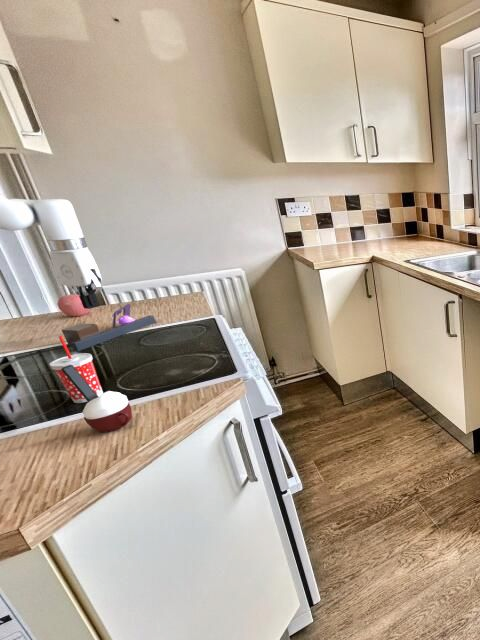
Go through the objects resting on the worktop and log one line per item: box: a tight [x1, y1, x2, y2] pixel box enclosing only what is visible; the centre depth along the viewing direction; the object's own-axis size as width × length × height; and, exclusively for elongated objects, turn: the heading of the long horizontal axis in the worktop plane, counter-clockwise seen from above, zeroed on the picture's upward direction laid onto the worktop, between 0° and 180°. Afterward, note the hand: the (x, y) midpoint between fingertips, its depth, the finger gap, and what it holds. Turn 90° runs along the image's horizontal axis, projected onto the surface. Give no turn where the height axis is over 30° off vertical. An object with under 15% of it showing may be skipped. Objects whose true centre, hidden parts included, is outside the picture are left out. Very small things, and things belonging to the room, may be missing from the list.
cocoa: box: [61, 365, 133, 433], centre depth 76 cm, size 10×6×12 cm, turn 53°
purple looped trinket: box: [111, 303, 136, 328], centre depth 126 cm, size 7×5×9 cm
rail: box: [70, 315, 157, 352], centre depth 120 cm, size 2×22×2 cm, turn 171°
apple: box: [57, 292, 91, 318], centre depth 137 cm, size 7×7×8 cm
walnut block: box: [61, 323, 100, 347], centre depth 115 cm, size 5×5×5 cm
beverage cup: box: [48, 335, 104, 404], centre depth 85 cm, size 6×6×14 cm
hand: (92, 307), depth 125 cm, fingers closed
